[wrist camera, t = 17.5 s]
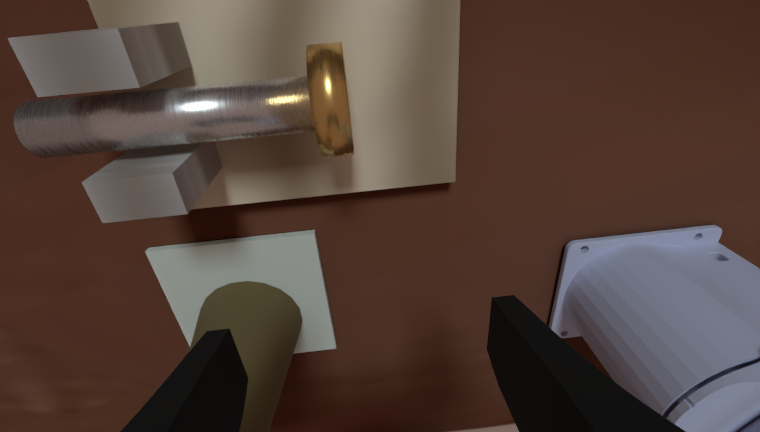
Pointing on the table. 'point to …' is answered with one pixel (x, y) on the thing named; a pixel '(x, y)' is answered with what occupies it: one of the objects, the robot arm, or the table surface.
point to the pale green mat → (248, 278)
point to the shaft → (198, 113)
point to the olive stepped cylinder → (255, 341)
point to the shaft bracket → (258, 62)
